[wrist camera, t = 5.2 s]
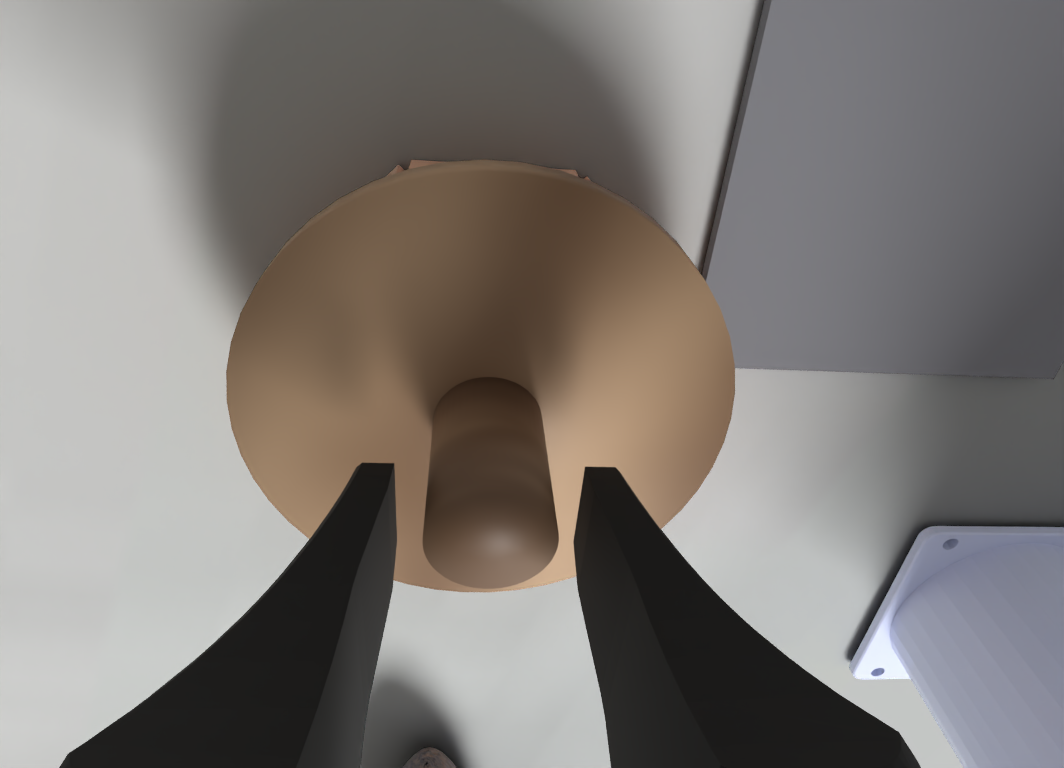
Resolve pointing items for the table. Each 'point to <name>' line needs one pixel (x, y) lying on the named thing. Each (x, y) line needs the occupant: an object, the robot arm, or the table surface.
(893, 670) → the robot arm
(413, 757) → the perforated stone tool
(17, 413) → the table surface
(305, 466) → the lid
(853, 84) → the mat
